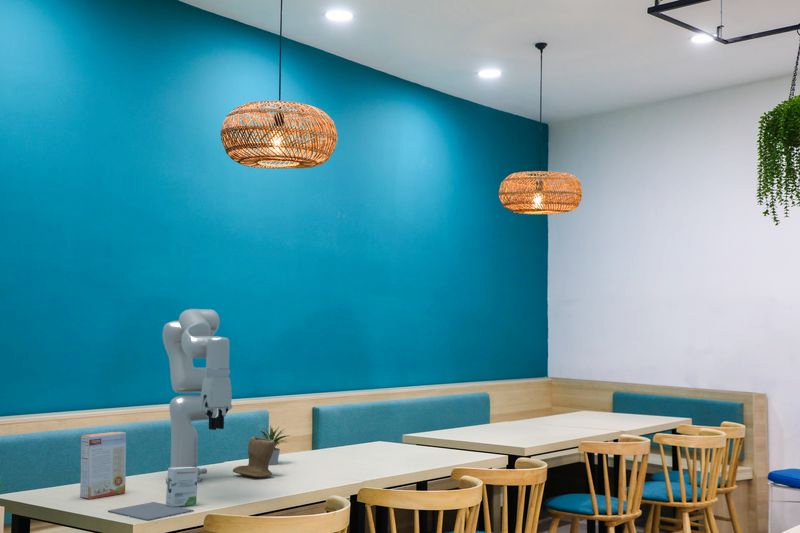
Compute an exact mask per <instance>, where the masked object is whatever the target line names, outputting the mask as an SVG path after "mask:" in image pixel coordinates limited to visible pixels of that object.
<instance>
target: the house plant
mask: <svg viewBox="0 0 800 533" xmlns="http://www.w3.org/2000/svg"><path fill="white" fill-rule="evenodd" d="M279 428H280V426H278V427H277V428H276V429H275V430H274V428H273V427H272V425H270V427H269V431H268V430H267V429H266V428H264V429H262V430H260V433H261V434H262V438H265V439H270V440H273V441H274V443H275V447H274V451H273V454H272V457H271V459H270V461H269V464H268V466H276V465H278V462H279V456H280V451H281V449H280V448H276V446H277V447H278V446H279V445H280V444H281V443H287V441H288V439H283V438H286V437H287V435H282V434H283V433H285V429H284V428H283V429H281V430H280V431H279V432H278V429H279ZM264 430H265V431H264ZM277 432H278V433H277ZM276 433H277V435H276ZM280 435H282V436H280ZM288 437H291V435H288ZM281 439H283V440H281ZM286 440H287V441H286Z"/></svg>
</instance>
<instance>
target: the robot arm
mask: <svg viewBox="0 0 800 533" xmlns="http://www.w3.org/2000/svg"><path fill="white" fill-rule="evenodd" d="M219 327H220V317H219V314H218V312H217V311H215V310H214V309H210V308H209V309H204V308H203V309H200V308H190V309H185V310H184V311H182V312H181V313H180V314H179V318H178V320H172V321H170V322H167V323H165V324H164V326H163V329H162V342H163V345H164V349H165V350H166V353H167V356H168V359H169V360H168V361H169V368H170V369H169V371H170V382H171V387H172V390H173V392H175V393H178V394H183V395H178V396H175V397H174V398H172V399H171V400H170V402H169V408H168V409H169V415H170V427H171V428H170V429H171V430H170V432H171V433H170V434H171V436H170V437H171V439H170V440H171V441H170V468H177V467H196V468H198V480H197V483H199V482H201V481H202V477H201V475H204V474H208V469H207V468H206V467H205V468H200V467H198V446H199V444H198V436H199V435H198V431H197V429H196V428H195V426H194V425H193V424H192V422H197V421H200V422H201V421H208V429H209V430H211V431H216V430H217V429H218V430H224V428H225V417H226V416H227V413H228V412H229V411H230V410H232V409H233V405H232V396H233V394H232V384H231V383H232V382H231V379H230V377H229V376H230V375H229V374H231V370H230V340H229V338H227V337H224V336H223V337H222V336H214V335H215V334H216V333H217V331H218V329H219ZM193 359H205V360H206V362H205V363H206V364H205V367H195V366H194V362H193V361H194V360H193ZM197 393H199V395H198V394H197ZM185 394H186V395H185ZM191 394H192V395H191ZM196 394H197V395H196ZM165 482H166V483H167V478H165Z"/></svg>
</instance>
